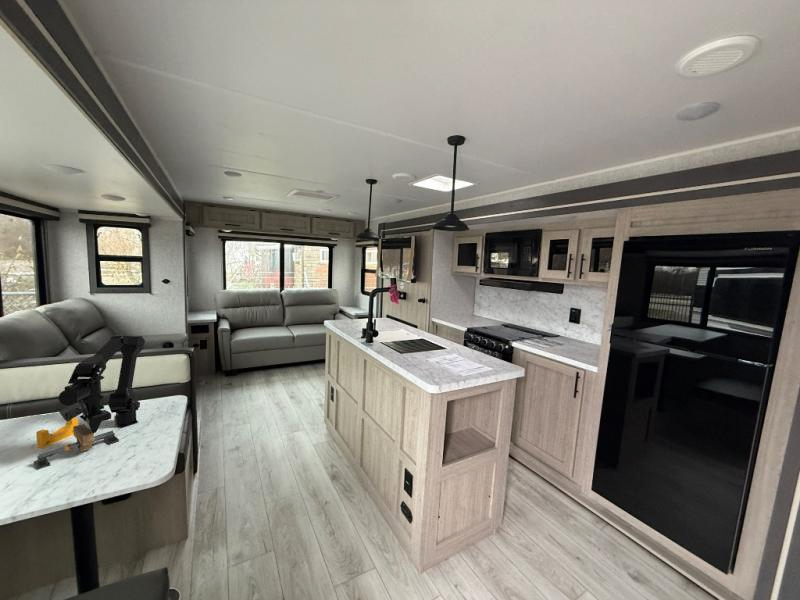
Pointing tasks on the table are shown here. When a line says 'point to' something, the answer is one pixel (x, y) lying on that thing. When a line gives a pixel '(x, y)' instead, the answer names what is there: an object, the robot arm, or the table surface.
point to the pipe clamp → (55, 434)
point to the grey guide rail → (42, 457)
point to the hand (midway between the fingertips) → (93, 432)
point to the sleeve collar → (84, 437)
